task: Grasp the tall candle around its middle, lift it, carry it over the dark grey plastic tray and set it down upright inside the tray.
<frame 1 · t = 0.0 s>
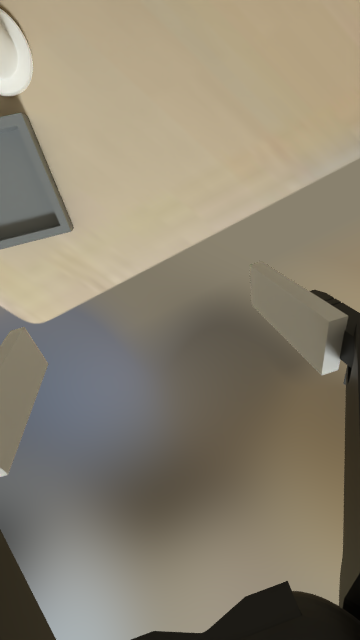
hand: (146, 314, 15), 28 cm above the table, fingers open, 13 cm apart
tray: (3, 189, 33), on the table
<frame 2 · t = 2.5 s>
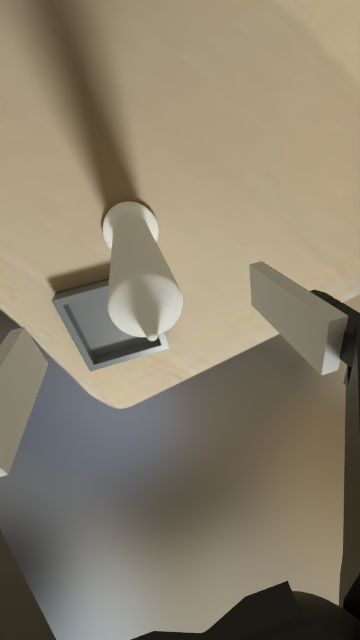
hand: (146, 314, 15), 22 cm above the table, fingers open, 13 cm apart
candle: (131, 230, 33), on the table
tray: (116, 318, 39), on the table
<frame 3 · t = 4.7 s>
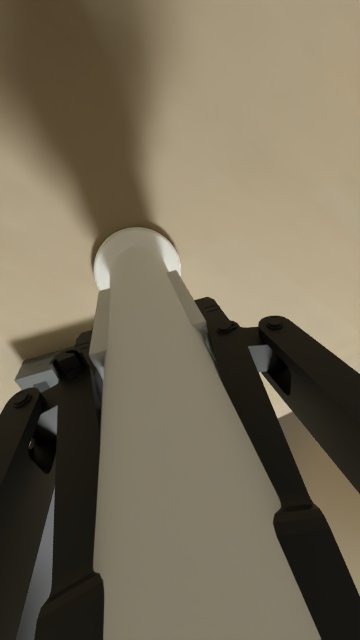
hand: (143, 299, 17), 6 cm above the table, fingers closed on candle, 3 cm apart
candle: (138, 269, 21), on the table, touching gripper
tray: (116, 388, 27), on the table
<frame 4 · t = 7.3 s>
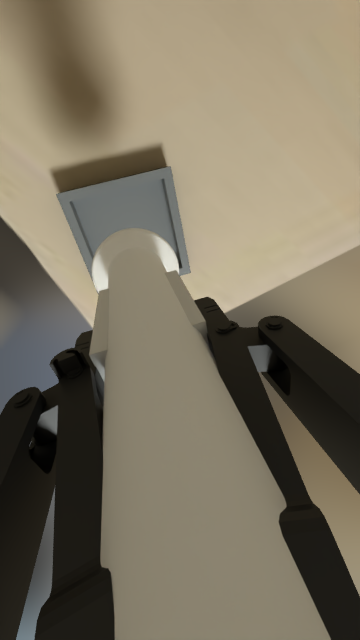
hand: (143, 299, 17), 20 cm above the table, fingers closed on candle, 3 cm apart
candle: (136, 270, 21), point 15 cm above the table, touching gripper
tray: (130, 234, 34), on the table
when the fingers open (8 cm above the table, at t = 9.7 s): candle drops 1 cm, resting on tray.
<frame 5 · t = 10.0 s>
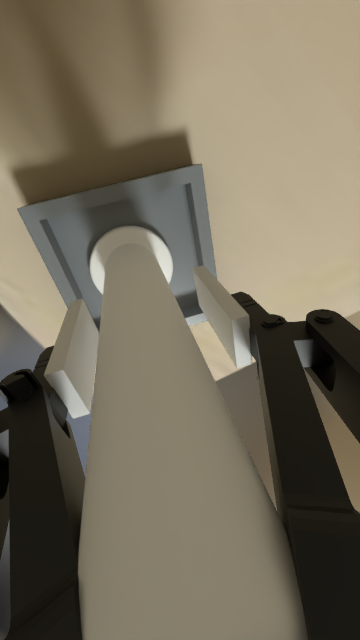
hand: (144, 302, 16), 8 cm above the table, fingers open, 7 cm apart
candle: (132, 266, 23), resting on tray
tray: (136, 263, 23), on the table
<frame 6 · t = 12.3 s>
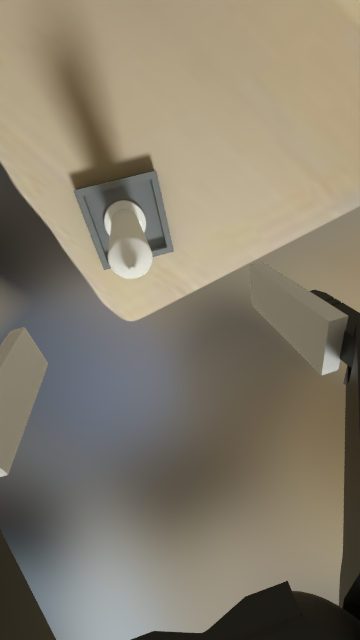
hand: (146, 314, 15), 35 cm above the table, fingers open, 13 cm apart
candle: (125, 222, 44), resting on tray
tray: (127, 221, 45), on the table
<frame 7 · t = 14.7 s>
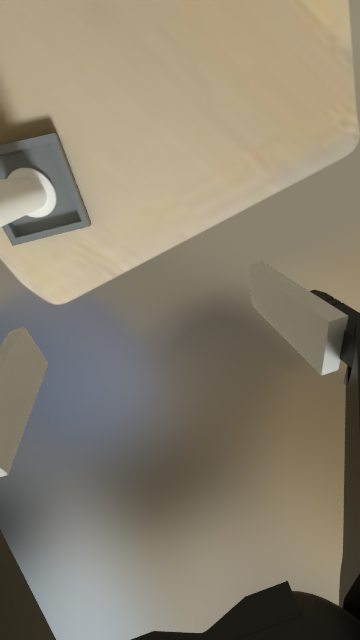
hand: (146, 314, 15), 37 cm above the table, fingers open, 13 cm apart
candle: (32, 193, 41), resting on tray
tray: (36, 192, 41), on the table
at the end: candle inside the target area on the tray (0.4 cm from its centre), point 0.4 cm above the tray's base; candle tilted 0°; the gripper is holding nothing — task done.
